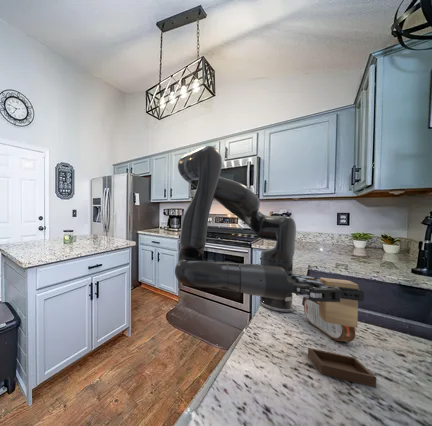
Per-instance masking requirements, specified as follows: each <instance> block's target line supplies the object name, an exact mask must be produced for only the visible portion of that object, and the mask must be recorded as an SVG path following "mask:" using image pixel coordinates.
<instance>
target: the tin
mask: <svg viewBox="0 0 432 426" xmlns="http://www.w3.org/2000/svg"><path fill="white" fill-rule="evenodd" d="M303 311H304V312H303V313H304V315H305V317H306V319H307V320H308V322H309V323H310V324H311V325H312V326H314V327H316V329H318V330H319V331H321V332H322V333H324V334H325V335H326V336H327V337H329V338H330V339H332V340H334V341H336V342H345V343H351V342H353V341H354V340H356V339H355V338H356V327H350V326H344V325H338V324H333V323H327V322H325V321H324V320H323V319H321V318H320V317H319V302H313V301H311V300H309V297H305V299H304V300H303Z"/></svg>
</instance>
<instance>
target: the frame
mask: <svg viewBox="0 0 432 426" xmlns="http://www.w3.org/2000/svg"><path fill="white" fill-rule="evenodd" d="M307 356H308V358H309V359H310V361H311V362H312V364H313V365H314V366H315V368H316V369H317V371H319V372H320V374H321V375H323V376H326V377H332V378H336V379H340V380H343V381H348V382H352V383H356V384H360V385H364V386H369V387H373V388H377V377H376V375H374V374H373V373H372V372H371V371H370V370H369V369H368V368H367V367H366V366H365V365H364V364H363V363H361V362H360V361H359V359H357V358H356V357H354V356H349V355H345V354H339V353H335V352H331V351H327V350H326V351H325V350H321V349H316V348H311V347H307Z"/></svg>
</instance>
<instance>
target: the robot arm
mask: <svg viewBox="0 0 432 426" xmlns="http://www.w3.org/2000/svg"><path fill="white" fill-rule="evenodd" d="M222 166H223V158H222V155H221V152H220V151H219V149H217V148H216V147H215V146H212V145H206V146H202V147H199V148H197V149H195V150H193V151H191V152H187V153H186V154H184V155H183V156H181V157H180V158H179V160H178V162H177V170H178V173H179V175H180V176H181V178H182V179H183V180H184V181H186V182H187V183H188V184H190V185H192V186H193V187H195V188H196V190H195V193H194V195H193V197H192V199H191V201H190V203H189V204H188V206H187V207H186V210H185V211H184V213H183V216H182V219H181V224H180V231H179V253H178V259H177V263H176V265H175V266H174V276H175V278H176V280H177V281H178V282H179V283H180V284H182V285H184V286H187V287H192V288H205V289H219V290H223V291H229V292H236V293H242V294H245V295H249V296H255V297H260V298H259V305H261V304H262V303H263V304H262V305H261V306H263V307H264V308H266V309H269V310H271V311H275V312H281V313H291V312H292V311H293V294H295V296H298V297H302V298H309V300H311V301H313V302H340V298H342V299H350V300H357V301H358V302H363V301H364V299H365V292H364V291H363V290H361V289H360V288H358V289H352V288H344V287H337V286H331V285H324V284H323V283H322V282H320V278H321V277H317V276H311V275H305V274H298V273H294V271H293V270H294V269H293V268H294V265H293V264H294V255H295V251H296V250H295V249H296V240H297V239H296V238H297V224H296V222H295V220H294V219H293V218H292V217H290V216H281V215H278V216H277V215H266V214H264V213H262V212H261V211H260V207H261V201H260V198H259V197H258V195H257V194H256V193H254V191H252V190H251V189H250V188H249V187H248V186H247V185H245V184H243V183H241V182H238V181H235V180H233V179H229V178H225V177H222V176H221V172H222ZM213 201H216V202H217V203H218V204H220V205H221V206H223V208H225V209H226V210H227V211H229V212H230V213H231V214H233V215H234V216H236V217H237V218H238V219H239V220H240V221H242V222H243V223H244V224H245V225H246V226H247V227H249V228H250V230H251V231H252V232H253V233H254V234H255V235H256V236H257V237H259V238H260V239H262V240H263V241H270V242H276V244H275V246H274V247H272V248H269V249H263V250H262V251H261V252H260V264H256V263H235V262H226V261H225V262H224V261H216V262H214V261H213V262H212V261H206V260H204V251H205V248H206V243H207V235H208V225H209V218H210V212H211V208H212V205H213ZM330 293H331V295H330ZM263 301H264V302H263Z"/></svg>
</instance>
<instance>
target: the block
mask: <svg viewBox="0 0 432 426" xmlns="http://www.w3.org/2000/svg"><path fill="white" fill-rule="evenodd" d="M319 278H320V282H322V283H323V284H324V285H331V286H337V287H344V288H352V289H359V286H360V285H359V284H358V283H356V282H353V281H351V280H346V279H339V278H338V279H337V278H328V277H319ZM330 295H331V293H330ZM319 317H320V318H321V319H323V320H324V321H325V322H327V323H333V324H338V325H344V326H350V327H354V328H355V329H357V328H358V325H359V323H358V321H359V318H358V317H359V301H357V300H350V299H342V298H340V302H319Z"/></svg>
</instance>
